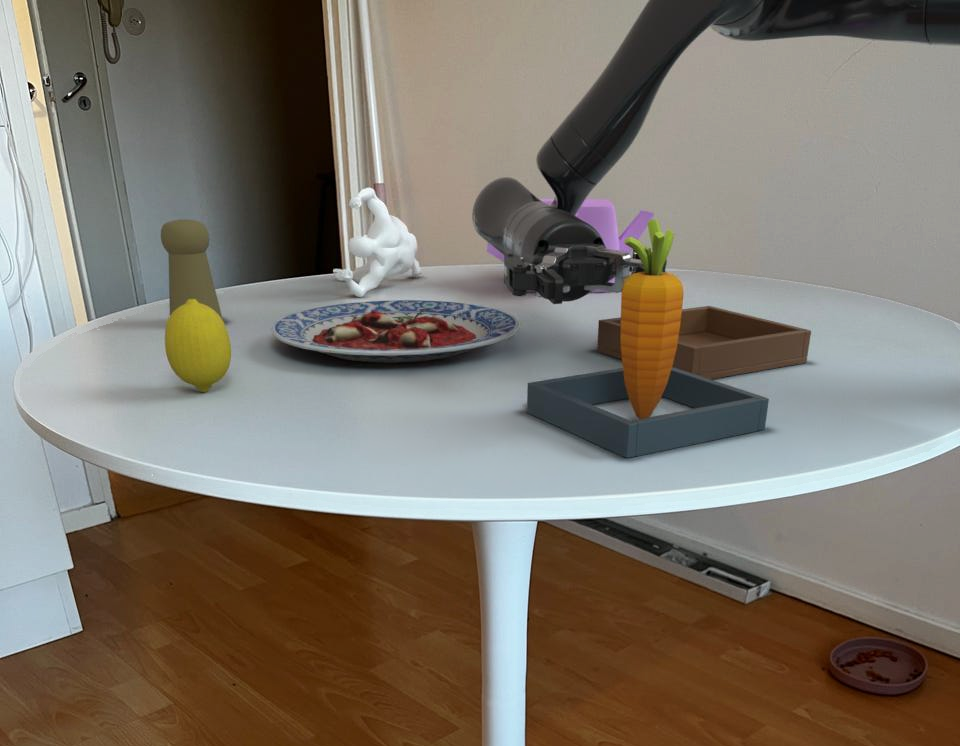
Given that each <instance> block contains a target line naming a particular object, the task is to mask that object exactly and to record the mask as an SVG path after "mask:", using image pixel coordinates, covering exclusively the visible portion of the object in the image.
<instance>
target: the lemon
mask: <svg viewBox="0 0 960 746" xmlns="http://www.w3.org/2000/svg"><path fill="white" fill-rule="evenodd" d="M222 319H223V318H222ZM222 319H221V317H220V316H219V315H218V314H217V313H216V312H215V311H214V310H213V309H212V308H210V307H208V306H206V305H204V304H201V303H199V302H198V301H197V300H196V299H189V300H187V302H186V303H185V304H184V305H181V306H180V307H178V308H177V309H176V310H175V311H174V312H173V313H172V314H171V315H170V314H169V317H168V319H167V321H166V325H165V332H164V349H165V354H166V358H167V362H168V364H169V366H170V368H171V370H172V371H173V373H174V374H175V375H176V376H177V377H178V378H179V379H180V380H181V381H183V382H184V383H186V384H189V385H192V386H194V387H195V388H196V389H197V390H198V391H199V392H200V393H207V392H208V391H209V390H210V389H211V388H212V387H213V385H214V384H216V383H218V382H220V381H221V380H222V379H223V378H224V377H225V376H226V374H227V372H228V370H229V367H230V364H231V361H232V345H231V344H232V343H231V339H230V335H229V332H228V329H227V327H226V324H225V322H224V319H223V320H222Z"/></svg>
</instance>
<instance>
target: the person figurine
mask: <svg viewBox="0 0 960 746" xmlns="http://www.w3.org/2000/svg"><path fill="white" fill-rule="evenodd" d="M363 202H366V204H367V208H368V209H369V210H370V212H371V214H373V216H374V219H373V222H372V223H371V225H370V227H369V228H368V230H367V231H368V232H367V234H363V235H362V236H361V235H360V236H354V237H351V238H350V239H349V240H348V243H347V250H348V252H349V253H350V254H351V255H352V256H353V257H357V258H361V259H363V260H367V263H365V264H363V265H361V266H359V267H355V268H354V270H353V271H352V269H350V268H347V269H346V268H343V269H342V268H333V270H332V272H333V276H334V277H335V278H336V279H337V281H342V282H345V283H346V285H347V287H348V289H349V292H351V293H352V294H353V295H354V296H355V297H359V298H362V297H364V296H365V295H366V293H367V292H368V291H371V290H374V289H376V288H377V287H378V286H379V285H380V284H381V282H382V280H387V279H389V278H391V277H394V276H397V275H403V274H405V273H408V272H409V271H410V270H411V275H410V276H411V278H415V277H418V276H420V275H423V271H422V269H421V267H420V262H419V261H418V260H417V259H416V257H415V255H416V254H417V252H418V247H419V246H418V242H417V237H416V236H415V235H414V233H411V232H409V229H408V227H407V225H406V224H405V223H404V222H403V221H402V220H401V219H400V218H399V217H397V216H394V215H392V214H390V213H389V210H388V208H387V206H386V203H385V202H383V201H382V200H381V199H380V198H379V197H378V195H377V194H376V190H375V189H374V188H372V187H365V188H363V189H361V190H360V191H359V192H358V193H357V195H356V196H354V197H353V198H350V201H349V203H348V206H349V207H350V208H351V209H355V210H358V209H359V208H361V206H362V205H363Z"/></svg>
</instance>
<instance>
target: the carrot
mask: <svg viewBox="0 0 960 746" xmlns="http://www.w3.org/2000/svg"><path fill="white" fill-rule="evenodd" d="M647 223H648V226H647V228H648V234H649V238H650V243H651V247H648V246H647V245H646V246H643V245H642V243H641V242H640V241H639V240H636V239H635V238H632V237H627V238H626V239H625V241H624V242H625V244H626V245H627V246H629V247H631V248H632V251H633V250H634V251H635V252H636V253H637V255H638V256H639V258H640V259H641V261H642V264H643V267H644V270H645V272H639V273H634V274H632V275H631V274H629V276H628V277H627V278H626V279H625V280H624V283H623V286H622V292H621V297H620V299H621V300H620V317H621V354H622V359H621V362H622V363H621V364H622V368H623V373H624V380H625V386H626V389H627V393H628V396H629V398H628V399H629V402H630V405H631V408H632V410H633V412H634V414H635V416H636V417H637V418H638V419H642V418H648V417H652V414H653V413H654V411H655V409H656V407H657V406H658V404H659V403H660V400H661V399H662V397H663V396H662V394H663V392H664V390H665V388H666V386H667V383H668V379H669V376H670V372H671V369H672V365H673V361H674V357H675V353H676V349H677V344H678V337H679V329H680V322H681V314H682V309H683V305H684V286H683V283H682V281H681V279H680V278H679V277H678V276H677V275H675V274H674V273H671V272H666V271H665V272H662V269H663V266H664V264H665V261H666V259H667V260H668V257H669V254H670V251H671V249H672V245H673V242H674V238H675V233H674V231H673V230H672V229H669V228H667V229H666V231H665V235H664V233H663V232H662V230H661V225H660V222H659V220H658V219H652V220H650V221H648V222H647Z"/></svg>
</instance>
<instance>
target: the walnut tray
mask: <svg viewBox="0 0 960 746" xmlns="http://www.w3.org/2000/svg"><path fill="white" fill-rule="evenodd" d="M597 325H598V327H597V347H596V348H597V349H596V351H597V352H599V353H601V354H604V355H608V356H610V357H614V358H616V359H618V360H619V359H620V360H622V354H621V316H620V317H613V318H606V319H605V318H604V319H598V324H597ZM811 334H812V330H811V329H808V328H807V329H806V328H803V327H799V326H795V325H790V324H786V323H783V322H777V321H773V320H769V319H766V318H763V317H762V318H761V317H757V316H753V315H750V314H745V313H741V312H736V311H732V310H728V309H725V308H720V307H717V306H712V305H705V306H698V307H690V308H682V314H681V322H680V329H679V337H678V344H677V349H676V353H675V357H674V361H673V365H672V367H674V368H677V369H680V370H683V371H686V372H689V373H692V374H695V375H698V376H701V377H704V378H707V379H711V380H714V379H720V378H725V377H731V376H738V375H742V374H748V373H749V374H750V373H754V372H761V371H767V370H773V369H779V368H783V367H789V366H797V365H801V364H802V365H803V364H807V363H808V355H809V348H810V343H811V336H812V335H811Z"/></svg>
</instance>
